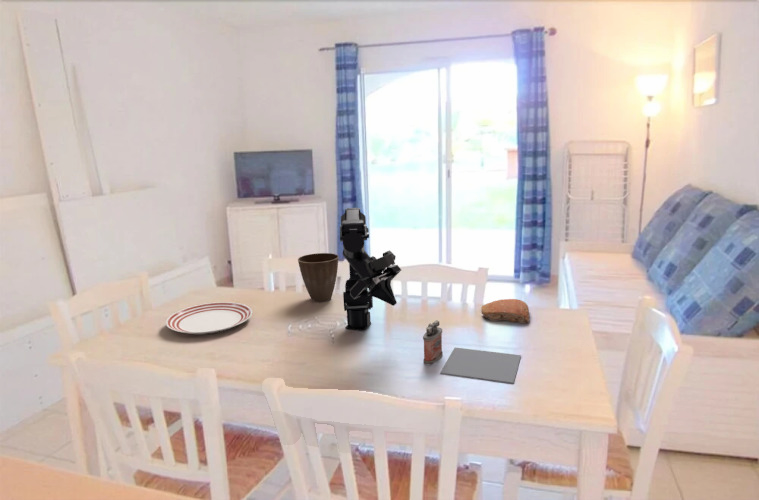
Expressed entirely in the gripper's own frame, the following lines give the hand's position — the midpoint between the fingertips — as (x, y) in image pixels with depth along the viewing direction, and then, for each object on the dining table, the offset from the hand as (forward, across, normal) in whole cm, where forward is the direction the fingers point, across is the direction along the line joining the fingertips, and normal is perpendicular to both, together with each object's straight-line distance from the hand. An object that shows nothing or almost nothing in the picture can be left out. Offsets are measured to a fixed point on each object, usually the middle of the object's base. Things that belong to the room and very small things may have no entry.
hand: (395, 304), depth 140 cm
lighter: (+18, 0, +2) cm, 18 cm away
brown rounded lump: (+22, +41, -2) cm, 46 cm away
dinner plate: (-37, -11, +56) cm, 68 cm away
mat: (+27, +3, -8) cm, 28 cm away
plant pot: (-25, +26, +44) cm, 57 cm away
